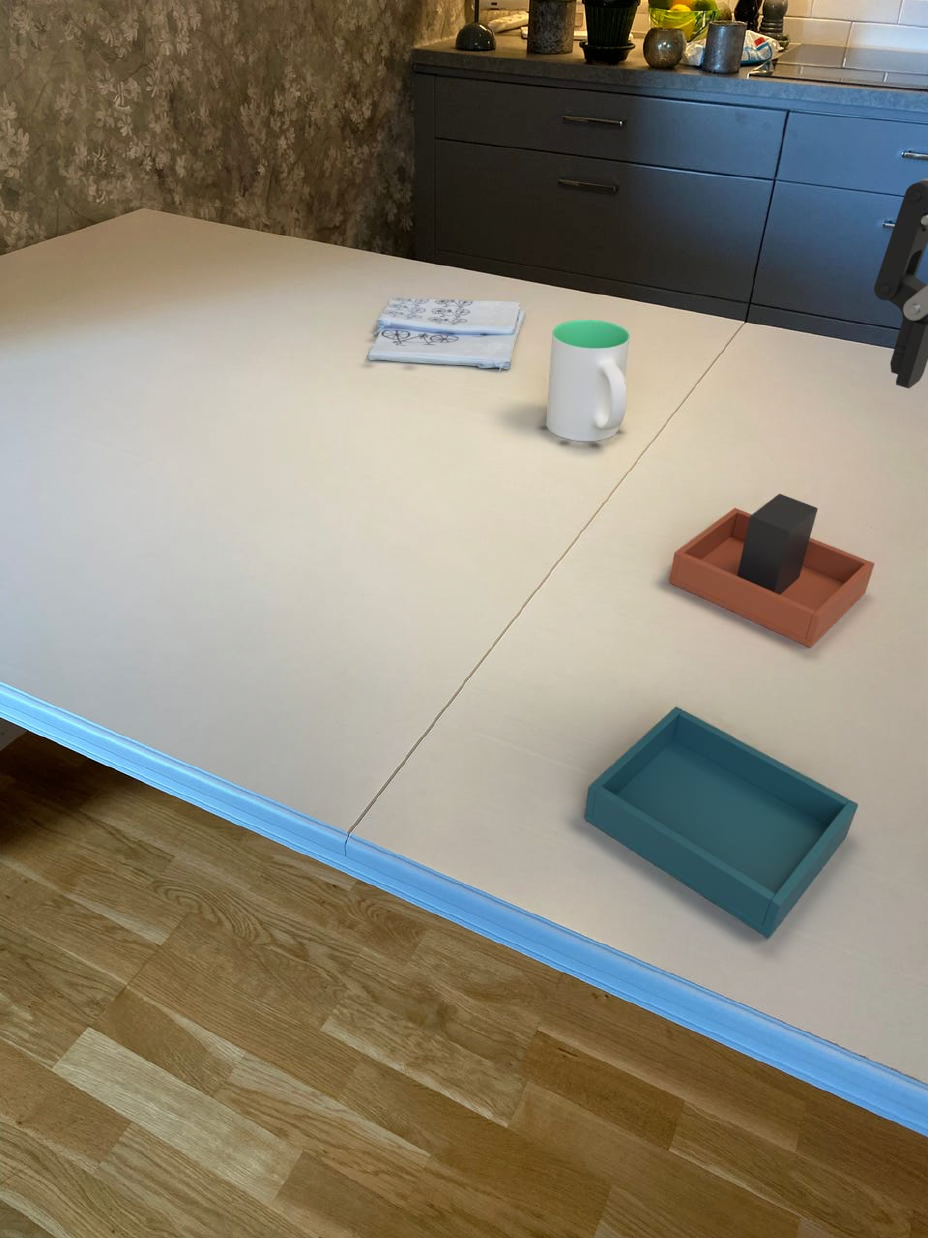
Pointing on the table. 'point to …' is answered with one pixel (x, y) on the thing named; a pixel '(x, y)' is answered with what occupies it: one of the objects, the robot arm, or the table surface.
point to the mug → (587, 380)
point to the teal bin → (721, 817)
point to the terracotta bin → (795, 613)
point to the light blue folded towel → (448, 332)
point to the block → (777, 543)
